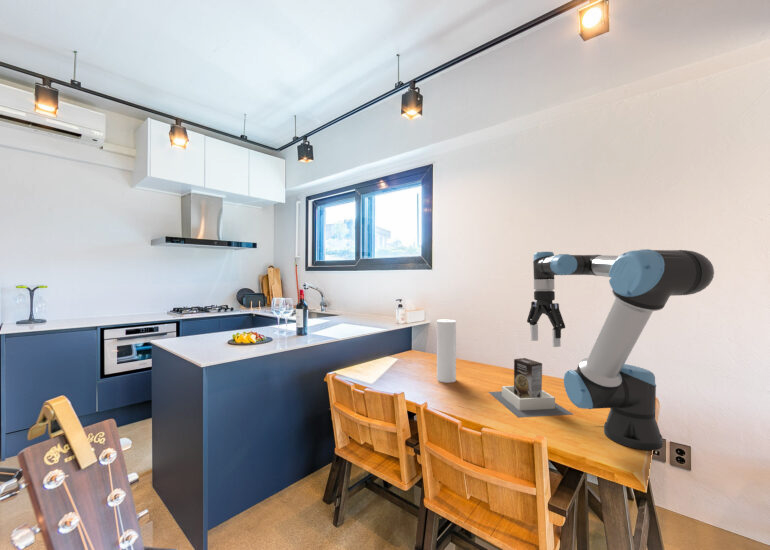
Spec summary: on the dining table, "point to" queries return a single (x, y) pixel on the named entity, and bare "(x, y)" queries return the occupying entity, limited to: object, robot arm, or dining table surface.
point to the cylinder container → (446, 350)
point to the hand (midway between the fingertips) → (545, 343)
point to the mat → (530, 413)
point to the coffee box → (527, 378)
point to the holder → (528, 400)
